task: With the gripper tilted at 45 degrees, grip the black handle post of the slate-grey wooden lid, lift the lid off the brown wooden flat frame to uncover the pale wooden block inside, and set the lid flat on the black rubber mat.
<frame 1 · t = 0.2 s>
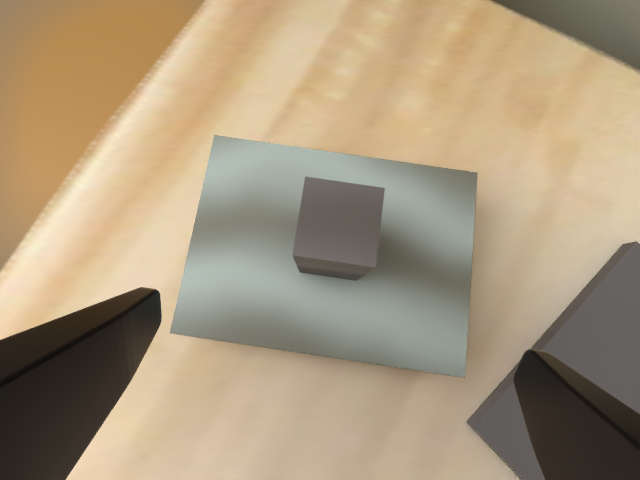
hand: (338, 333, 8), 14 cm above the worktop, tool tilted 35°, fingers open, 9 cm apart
toolbox lid: (330, 253, 20), point 3 cm above the worktop, touching brown wooden flat frame
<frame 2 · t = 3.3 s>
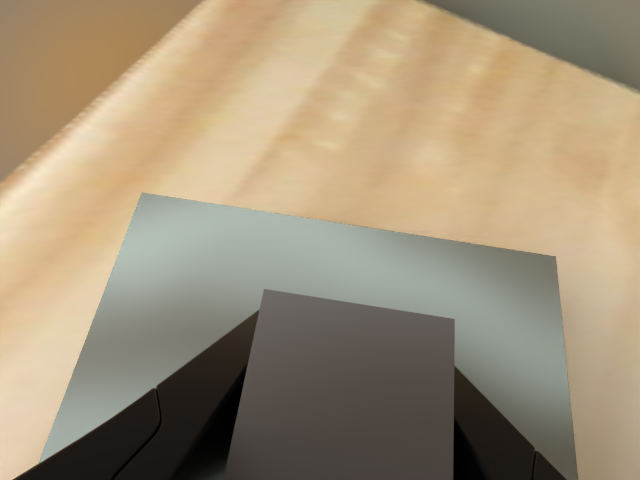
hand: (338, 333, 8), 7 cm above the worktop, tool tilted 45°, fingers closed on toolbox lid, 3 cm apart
toolbox lid: (322, 387, 12), point 3 cm above the worktop, touching gripper, brown wooden flat frame
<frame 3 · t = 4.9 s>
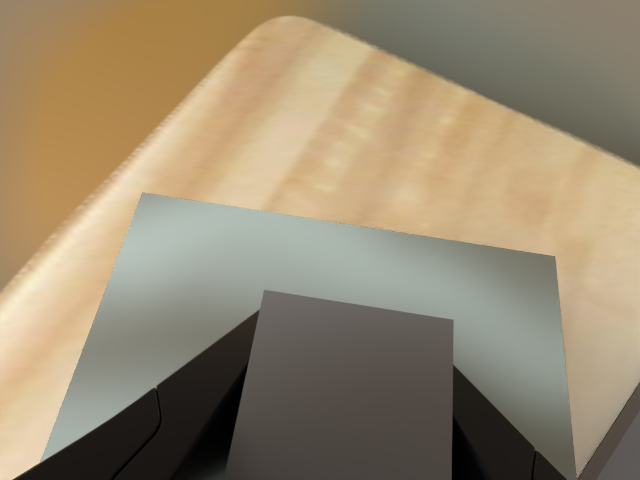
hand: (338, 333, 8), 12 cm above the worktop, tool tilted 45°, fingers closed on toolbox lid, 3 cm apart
toolbox lid: (322, 386, 12), point 8 cm above the worktop, touching gripper
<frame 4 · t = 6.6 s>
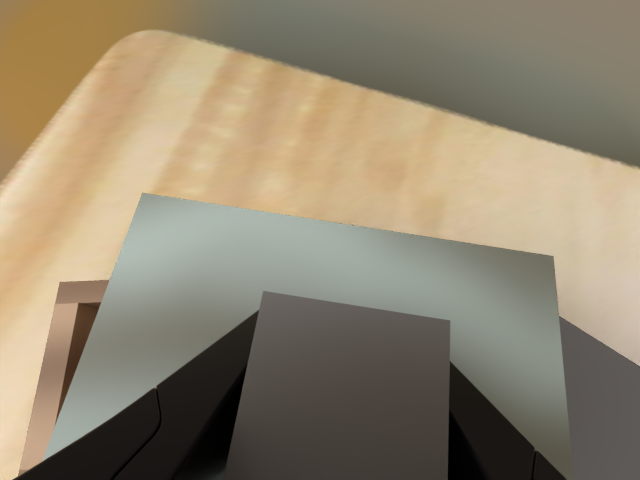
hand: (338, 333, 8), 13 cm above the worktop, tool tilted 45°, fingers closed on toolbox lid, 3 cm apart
toolbox lid: (321, 385, 12), point 9 cm above the worktop, touching gripper
brown wooden flat frame: (199, 372, 20), on the worktop
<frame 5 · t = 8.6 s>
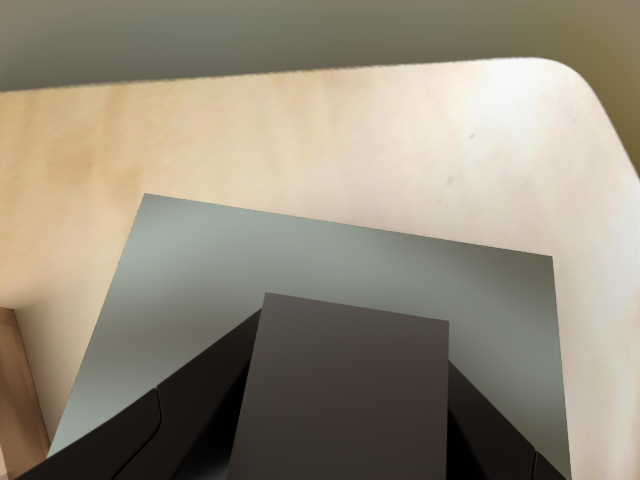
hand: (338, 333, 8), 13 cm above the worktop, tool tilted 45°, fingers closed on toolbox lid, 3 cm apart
toolbox lid: (322, 384, 12), point 8 cm above the worktop, touching gripper
when the fingers open (6 cm above the worktop, at t = 10.2 s): toolbox lid stays where it is, resting on rubber mat.
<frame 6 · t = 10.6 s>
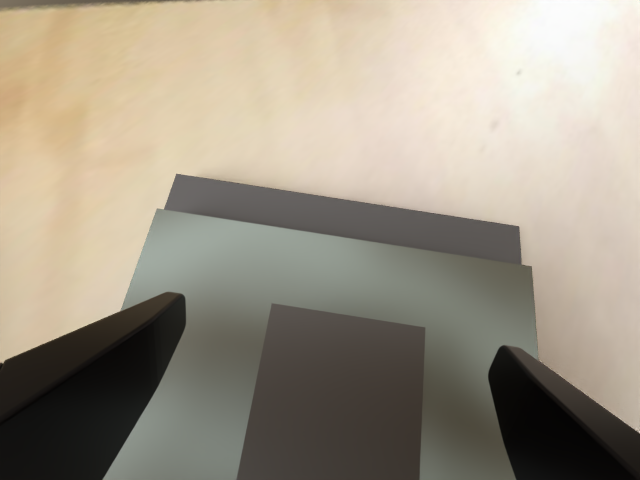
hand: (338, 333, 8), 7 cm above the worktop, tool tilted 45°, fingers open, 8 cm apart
toolbox lid: (320, 384, 13), point 1 cm above the worktop, touching rubber mat
rubber mat: (319, 384, 14), on the worktop
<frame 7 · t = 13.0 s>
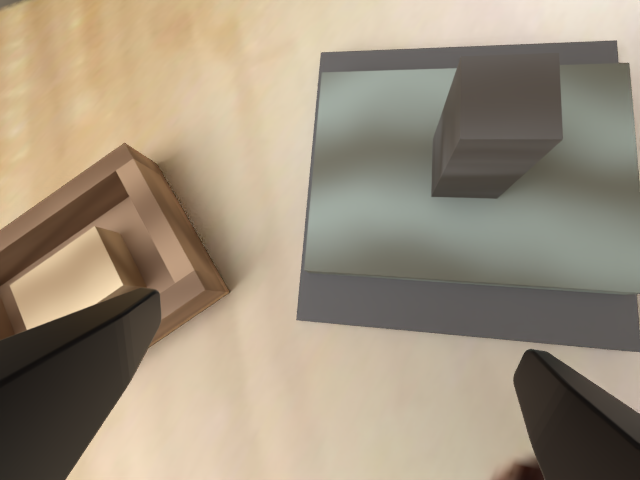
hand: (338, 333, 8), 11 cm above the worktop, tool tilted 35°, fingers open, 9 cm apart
toolbox lid: (456, 179, 18), point 1 cm above the worktop, touching rubber mat
rubber mat: (452, 186, 19), on the worktop
brown wooden flat frame: (99, 287, 22), on the worktop
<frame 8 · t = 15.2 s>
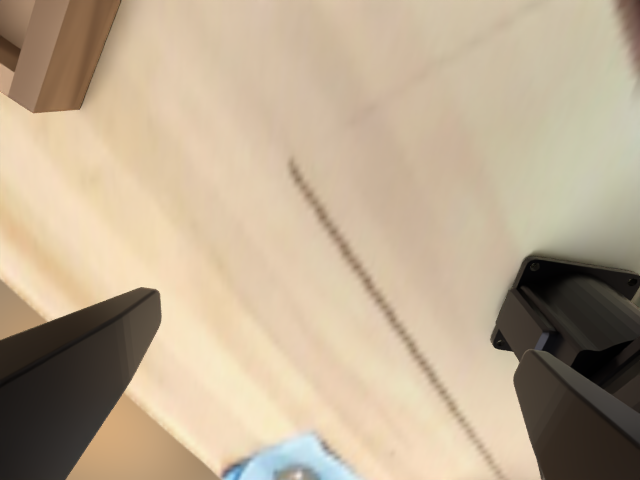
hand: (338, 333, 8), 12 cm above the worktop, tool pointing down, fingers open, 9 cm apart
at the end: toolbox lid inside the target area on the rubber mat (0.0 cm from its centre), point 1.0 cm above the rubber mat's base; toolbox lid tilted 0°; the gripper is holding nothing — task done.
